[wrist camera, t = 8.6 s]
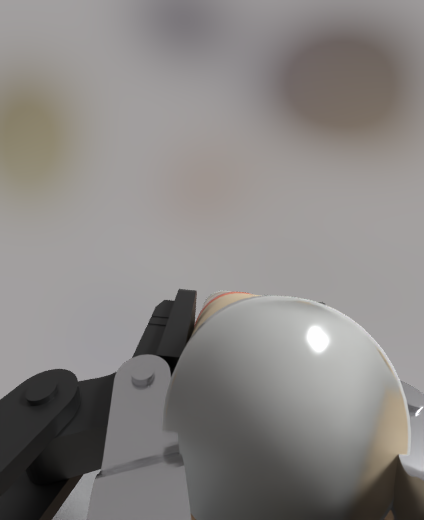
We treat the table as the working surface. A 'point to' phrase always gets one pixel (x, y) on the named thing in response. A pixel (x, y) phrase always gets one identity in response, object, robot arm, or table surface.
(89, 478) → the table surface
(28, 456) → the robot arm
